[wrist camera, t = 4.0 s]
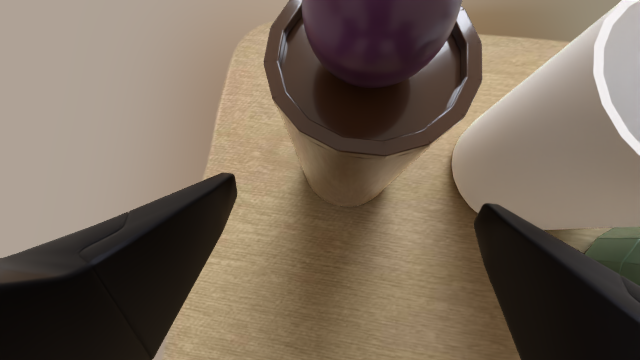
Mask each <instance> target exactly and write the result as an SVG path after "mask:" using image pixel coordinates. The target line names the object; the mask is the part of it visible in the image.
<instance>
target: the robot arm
mask: <svg viewBox="0 0 640 360" xmlns="http://www.w3.org/2000/svg"><path fill="white" fill-rule="evenodd" d="M236 198H237V188H236V181H235V176H234V175H233V174H231V173H220V174H218V175H216V176H213V177H211V178H208V179H206V180H204V181H201V182H199V183H196V184H194V185H191V186H189V187H187V188H184V189H182V190H179V191H177V192H175V193H172V194H170V195H168V196H165V197H163V198H160V199H158V200H155V201H153V202H151V203H149V204H146V205H143V206H141V207H139V208H136V209H134V210H131V211H130V212H129V213H128V212H126V213H124V214H121V215H119V216H117V217H114V218H112V219H109V220H107V221H104V222H102V223H99V224H97V225H94V226H91V227H89V228H86V229H83V230H80V231H78V232H75V233H72V234H70V235H67V236H64V237H61V238H58V239H56V240H53V241H50V242H47V243H45V244H42V245H39V246H36V247H33V248H31V249H28V250H25V251H22V252H19V253H17V254H14V255H11V256H8V257H4V258H0V360H152V359H153V358H154V357H155V355H156V353H157V351H158V349H159V347H160V346H161V344H162V342H163V340H164V338H165V336H166V335H167V333H168V331H169V329H170V327H171V326H172V324H173V322H174V320H175V318H176V316H177V315H178V313H179V311H180V309H181V307H182V305H183V304H184V302H185V300H186V298H187V296H188V294H189V293H190V291H191V289H192V287H193V285H194V283H195V282H196V280H197V278H198V276H199V274H200V272H201V271H202V269H203V267H204V265H205V263H206V262H207V260H208V258H209V256H210V254H211V252H212V251H213V249H214V247H215V245H216V243H217V241H218V240H219V238H220V236H221V234H222V232H223V230H224V228H225V225H226V223H227V220H228V218H229V215H230V213H231V210H232V208H233V205H234V203H235V200H236ZM474 229H475V233H476V237H477V241H478V244H479V248H480V252H481V256H482V259H483V263H484V266H485V269H486V271H487V274H488V277H489V279H490V282H491V284H492V287H493V289H494V292H495V294H496V297H497V299H498V302H499V305H500V307H501V310H502V312H503V315H504V317H505V320H506V322H507V325H508V327H509V330H510V332H511V335H512V338H513V340H514V343H515V345H516V348H517V350H518V353H519V355H520V358H521V360H640V286H639V285H637V284H635V283H634V282H632V281H630V280H628V279H627V278H625V277H623V276H620V275H619V274H618V273H616V272H614V271H613V270H611V269H609V268H608V267H606V266H604V265H602V264H601V263H599V262H597V261H595V260H594V259H592V258H590V257H589V256H587V255H585V254H583V253H582V252H580V251H578V250H576V249H575V248H573V247H571V246H569V245H568V244H566V243H564V242H563V241H561V240H559V239H557V238H556V237H554V236H552V235H550V234H549V233H547V232H545V231H544V230H542V229H540V228H538V227H537V226H535V225H533V224H531V223H530V222H528V221H526V220H524V219H523V218H521V217H519V216H518V215H516V214H514V213H512V212H511V211H509V210H507V209H505V208H504V207H502V206H500V205H498V204H492V203H485V204H483V205H482V207H481V209H480V211H479V213H478V215H477V217H476V218H475V221H474Z"/></svg>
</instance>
